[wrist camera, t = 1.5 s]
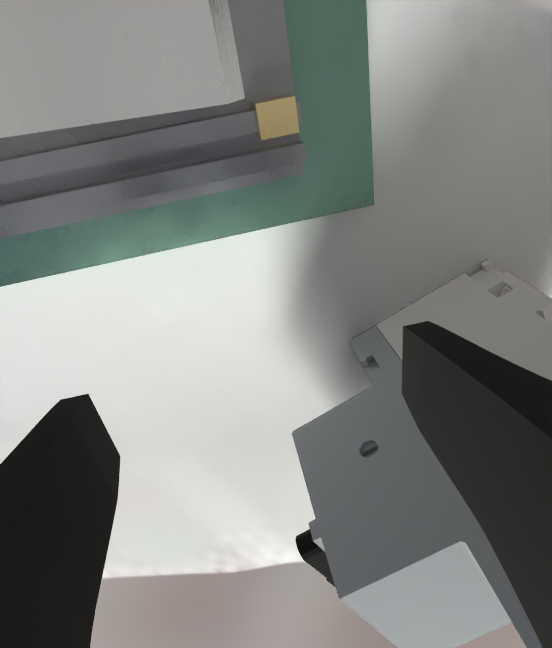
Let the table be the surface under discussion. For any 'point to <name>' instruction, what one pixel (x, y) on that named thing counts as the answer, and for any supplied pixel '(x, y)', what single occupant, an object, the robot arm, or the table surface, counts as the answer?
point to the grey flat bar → (112, 61)
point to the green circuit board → (203, 153)
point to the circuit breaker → (416, 479)
